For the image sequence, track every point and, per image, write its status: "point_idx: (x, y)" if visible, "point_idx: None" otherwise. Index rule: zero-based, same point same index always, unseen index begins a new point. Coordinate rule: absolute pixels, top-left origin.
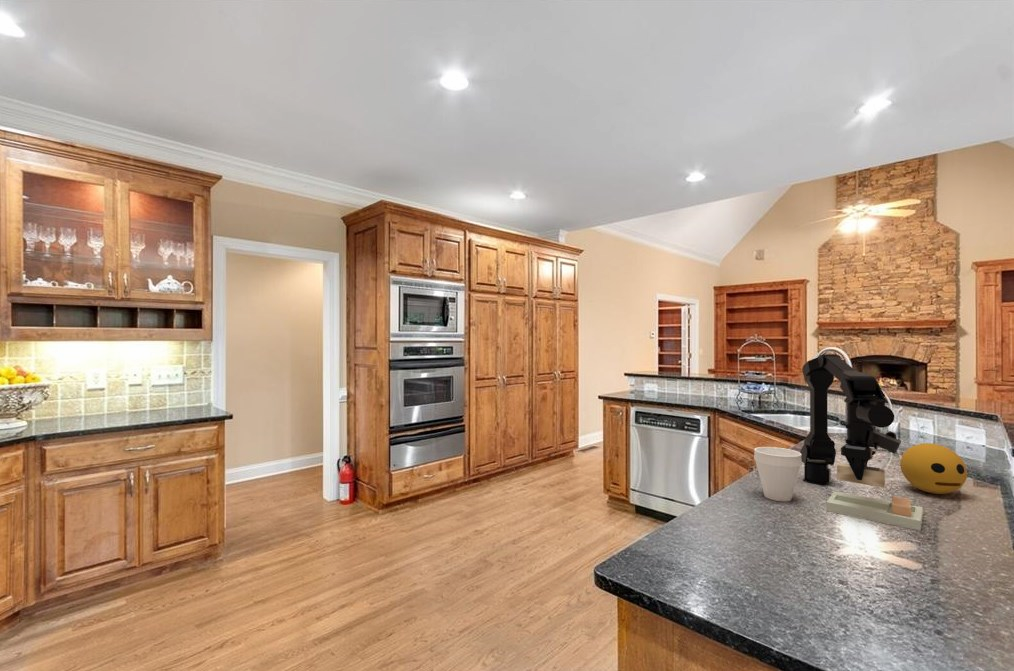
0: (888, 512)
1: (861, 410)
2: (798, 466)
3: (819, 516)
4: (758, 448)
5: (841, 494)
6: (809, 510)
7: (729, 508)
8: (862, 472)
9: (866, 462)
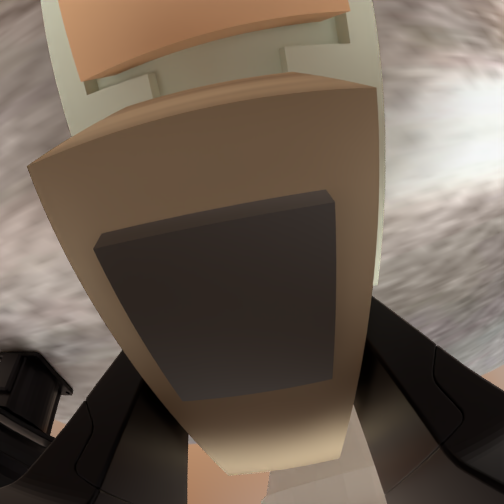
0: (207, 59)
1: None
2: (372, 463)
3: (441, 249)
4: None
5: None
6: (396, 290)
7: (471, 362)
8: (400, 323)
9: (120, 443)
